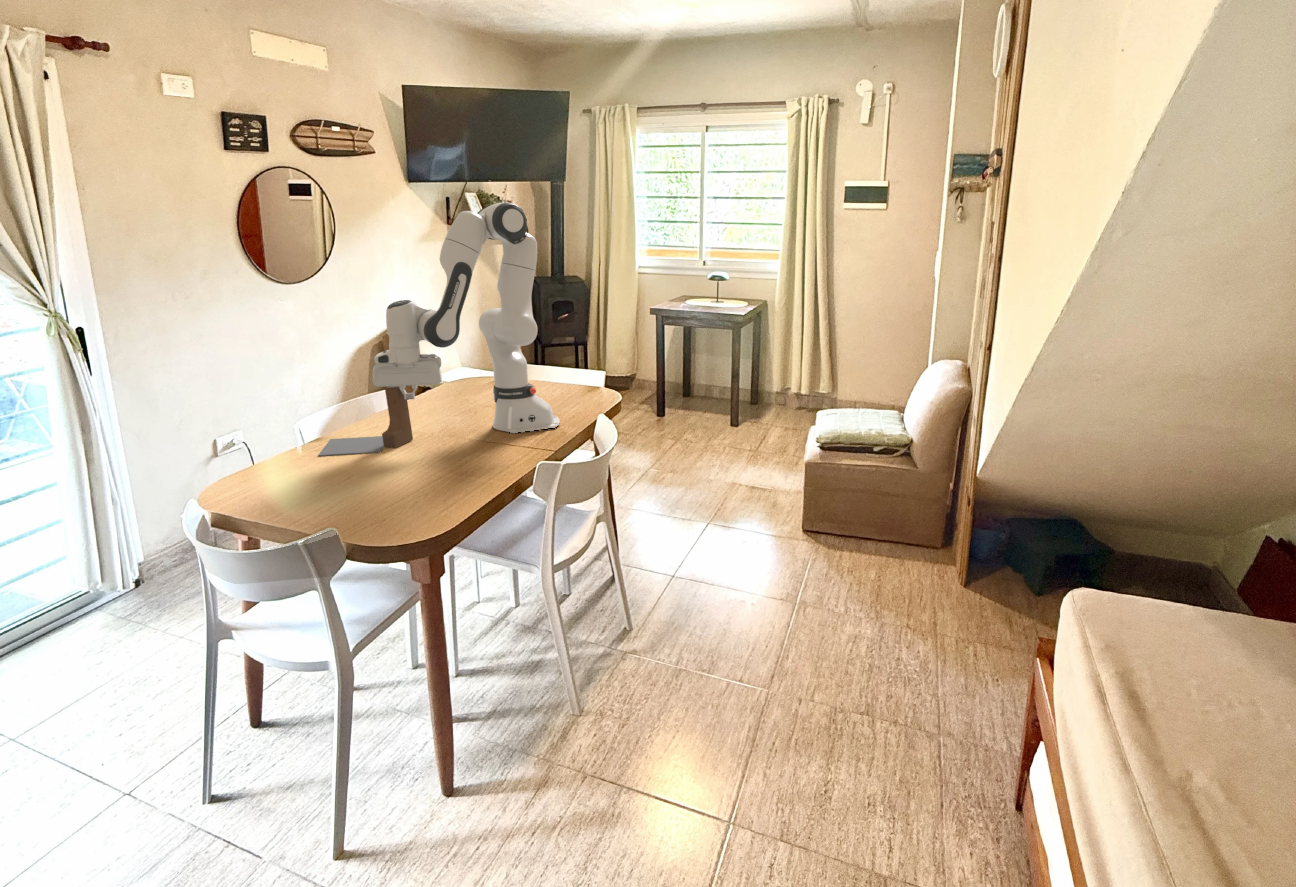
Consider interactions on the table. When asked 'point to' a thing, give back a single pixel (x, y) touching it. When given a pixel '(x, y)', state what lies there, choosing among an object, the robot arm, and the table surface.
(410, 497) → the table surface
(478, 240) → the robot arm
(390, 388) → the wooden block
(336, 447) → the mat
